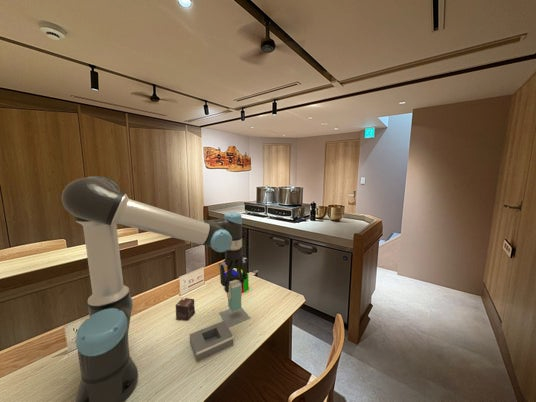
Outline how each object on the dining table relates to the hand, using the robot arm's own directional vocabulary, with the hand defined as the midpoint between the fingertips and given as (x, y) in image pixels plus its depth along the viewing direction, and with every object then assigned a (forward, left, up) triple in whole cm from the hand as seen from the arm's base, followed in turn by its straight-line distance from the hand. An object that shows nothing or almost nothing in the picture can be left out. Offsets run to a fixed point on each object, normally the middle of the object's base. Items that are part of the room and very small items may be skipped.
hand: (234, 296), depth 97 cm
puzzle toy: (+10, +20, -10) cm, 25 cm away
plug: (0, 0, -5) cm, 5 cm away
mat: (0, 0, -10) cm, 10 cm away
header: (-14, -10, -10) cm, 20 cm away
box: (-19, +12, -10) cm, 25 cm away
